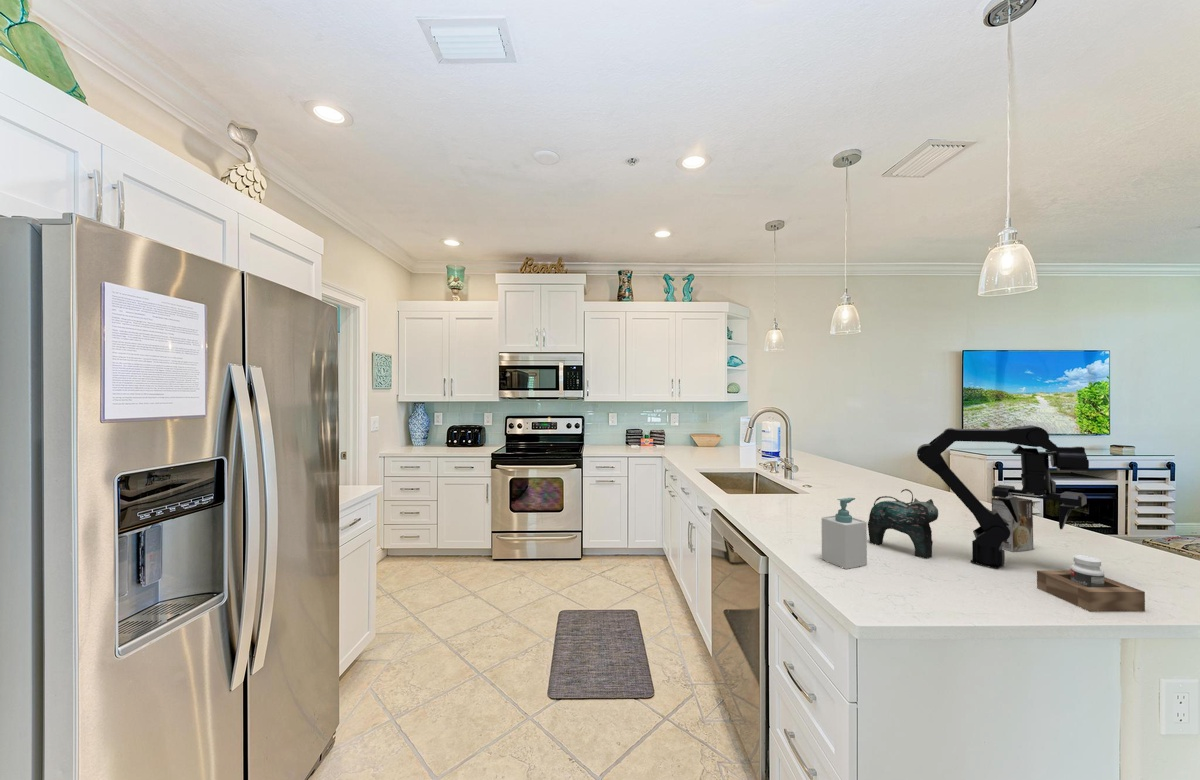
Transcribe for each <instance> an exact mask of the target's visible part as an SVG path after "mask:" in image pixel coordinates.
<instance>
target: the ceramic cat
mask: <svg viewBox="0 0 1200 780" xmlns="http://www.w3.org/2000/svg"><path fill="white" fill-rule="evenodd" d="M905 491H907V492H909V493H911V501H910V502H905V501H902V500H899V499H898V498H896V497H894V496H887V495H885V496H879V497H878V498H876V499H875V500H874V503H873V506H872V507H871V509H870V512H869V515H868V516H869V517H868V522H867V530H868V538H869V543H870V544H872V543H873V545H875V544H876V546H881V545H883V542H884V537H885V533H886V531H887V530H894V531H897V532H899V533H903V534H906V535H907V536H908V537H909V538H910V540H911V541H912V544H913V546H914V557H919V558H923V559H925V560H927V559H931V558H933V543H934V541H933V539H932V538H933V536H932V535H933V534H932V532H933V531H932V528H931V525H930V523H934V522H935V521H937V520H938V518H939V509H938V507H937V506H935V505H934V501H933V499H932V498H930V499H928V500H926V501H919V500H918V499H917V498H916V497H915V498H914V494H913V492H912V491H911V490H910V489H907V488H905V489H902V490H901V492H900V493H902V492H905ZM882 498H883V499H886V498H890V499H893V500H883V501H879V500H880V499H882ZM878 501H879V502H878Z"/></svg>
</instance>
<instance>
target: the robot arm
mask: <svg viewBox="0 0 1200 780" xmlns="http://www.w3.org/2000/svg"><path fill="white" fill-rule="evenodd" d="M1049 435H1050V434H1049V433H1048V431H1047V430H1046V429H1044V428H1043V427H1039V426H1037V425H1032V424H1030V425H1028V424H1027V425H1020V426H1014V427H1009V428H1008V427H1007V428H999V429H998V428H953V427H948V428H946V429H944V430H943V432H942V433H940V434H939V435H938V436H936V437H935V438H933V440H931V441H930V442H929V443H923V444H921V445H919V446H918V448H917V451H916V456H917V458H918V460H919V462H921V463H922V464H924V466H926V467H927V468H928V469H930V470H931V471H932V472H934V473H935V474H936V475H938V476H939V477H940V479H941V480H942V481H943V482H944V483H945V484H946V485H947V487H949V489H950V490H951V492H953V494H955V495H956V497H957V498H958V499H959V500H960V501H961V502H962V504H963V505H964V506H965V507H966V508H967V509H968V510H969V511H970V512H971V514H972V515H973V516H974V518H975V520H976V521H977V523H978V524H979V526H978V527H977V528H975V529H974V530H972V531H973V532H972V533H973V535H974V537H975V539H973V540H972V541H971V547H972V551H971V552H972V559H971V560H970V561H969V562H970V563H972V564H976V565H980V566H984V567H989V568H990V569H991V568H993V569H997V570H999V569H1000V568H1001V567H1003V566H1004V565H1005V564H1006V553H1005V552H1006V550H1004V549H1002V542H1003V541H1006V540H1007V539H1008V538H1009V537H1010V530H1009V528H1008V527H1007V526H1009V524H1008V523H1007V521H1006V520H1005V519H1004V518H1002V517H1001V516H1000V515H999V513H998V512H997V510H996V509H993V510H992V509H991V510H990V509H989V508H987V507H986V506H984V504H983V503H982V502H981V501H980V500H979V499H978V498H977V497H976V496H975V494H974V493H973V492H972V491H971V490H970V488H968V486H966V485H965V483H964V482H963V481H962V480H961V479H960V477H958V476H957V474H956V473H955V472H954V471H953V470H952V469H951V468H950V467H949V465H948V463H947V461H946V460H945V458H944V457H943V455H942V453H943V452H945V451H946V450H947V449H948V448H949V447H950V446H951V445H953V444H955V442H970V443H971V442H974V443H976V442H977V443H978V442H979V443H982V442H983V443H986V442H987V443H988V442H989V443H1008V444H1013V445H1016V447H1015V448H1013V449H1012V450H1011V453H1012V454H1014V455H1020V463H1021V464H1020V465H1021V474H1020V477H1021V485H1022V488H1021V489H1018V488H1017V489H1016V487H1015V486H1014V485H1008V484H1007V485H1006V484H1004V485H1003V484H997V485H995V486H993V487H992V488H991V495H992V497H994V498H997V497H999V498H998V500H1002V501H1003V503H1004V504H1005V505H1006V507H1007V508H1008V509H1009V511H1010V513H1011V515H1012V516H1013V518H1014V520H1015V522H1016V523H1018V522H1019V515H1018V509H1017V497H1021V498H1023V497H1024V498H1031V499H1041V500H1049V501H1050V500H1051V501H1058V502H1059V501H1060V502H1061V503H1062V504H1060V505H1059V508H1058V511H1059V512H1058V513H1059V514H1058V526H1059V527H1058V528H1059V530H1063V529H1064V527H1065V525H1066V523H1067V520H1068V517H1069V515H1070V513H1071V512H1072V510H1076V509H1077V508H1080V507H1084V506H1085V505H1087V500H1088V499H1087V495H1085V493H1083V492H1075V491H1074V492H1073V491H1064V492H1062V493H1061V492H1060V493H1056V490H1057V489H1056V486H1057V485H1056V484H1057V483H1056V481H1054V480H1053V479H1052V477H1051V473H1050V465H1051V467H1052V468H1056V471H1057V472H1073V473H1074V472H1075V473H1077V472H1079V473H1088V472H1089V469H1090V468H1089V467H1090V462H1089V459H1088V457H1087V453H1086V450H1085V447H1083V446H1071V447H1069V446H1057V444H1055V443H1054V442H1053V441H1051V440H1050V436H1049ZM1024 446H1026V447H1024ZM1038 448H1041V449H1045V450H1046V451H1039V450H1038ZM1049 458H1050V460H1049Z"/></svg>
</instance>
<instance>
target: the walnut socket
mask: <svg viewBox="0 0 1200 780" xmlns="http://www.w3.org/2000/svg"><path fill="white" fill-rule="evenodd" d="M1036 589H1038V590H1041V591H1043V592H1045V593H1048V594H1049V595H1051V596H1055V597H1057V598H1058V599H1061V600H1063V601H1065V602H1067V603H1069V604H1072V605H1074V606H1076V607H1078V606H1079V607H1078V608H1080V607H1081V609H1082V610H1085V609H1086V611H1087V610H1088V611H1087V612H1146V594H1145V593H1146V592H1145V591H1144V590H1141V589H1138V588H1135V587H1133V586H1131V585H1127V584H1124V583H1122V582H1119V581H1117V580H1114V579H1111V578H1108V577H1105V576H1104V587H1086V586H1084V585H1081V584H1079V583H1076V582H1074V581H1071V569H1070V570H1065V569H1064V570H1036Z"/></svg>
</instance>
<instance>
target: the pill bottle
mask: <svg viewBox="0 0 1200 780" xmlns="http://www.w3.org/2000/svg"><path fill="white" fill-rule="evenodd" d="M1072 560H1073V562H1074V564H1072V565H1071V566H1070V570H1071V581H1074V582H1076V583H1079V584H1081V585H1084V586H1086V587H1104V577H1105V573H1104V571H1103V570H1102V569H1101V566H1102V561H1101V559H1098V558H1096V557H1093V556H1092V557H1091V556H1087V555H1083V554H1082V555H1081V554H1076V555H1073V558H1072Z"/></svg>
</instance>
